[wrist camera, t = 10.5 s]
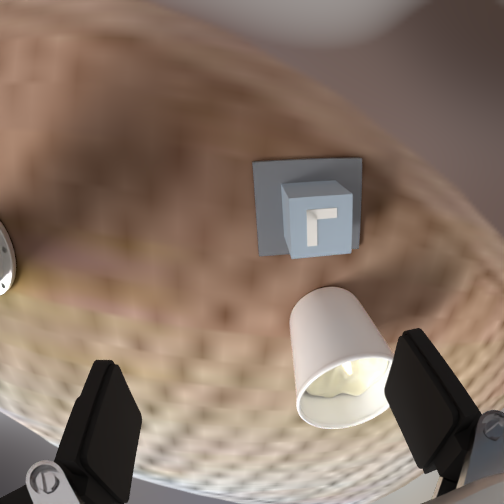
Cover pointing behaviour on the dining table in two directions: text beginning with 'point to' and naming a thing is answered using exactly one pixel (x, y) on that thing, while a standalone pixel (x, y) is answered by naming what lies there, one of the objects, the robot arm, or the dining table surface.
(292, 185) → the letter block
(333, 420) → the candle holder
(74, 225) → the dining table surface
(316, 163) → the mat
